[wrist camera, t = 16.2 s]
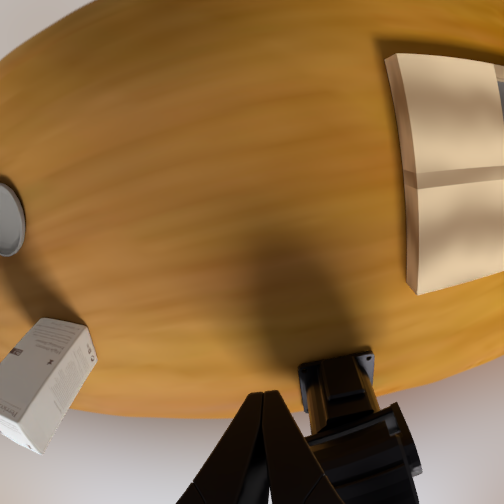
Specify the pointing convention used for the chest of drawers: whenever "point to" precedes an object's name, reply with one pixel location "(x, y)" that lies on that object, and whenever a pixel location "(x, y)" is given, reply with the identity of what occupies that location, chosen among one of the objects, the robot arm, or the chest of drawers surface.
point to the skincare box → (43, 380)
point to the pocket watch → (10, 222)
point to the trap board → (450, 167)
